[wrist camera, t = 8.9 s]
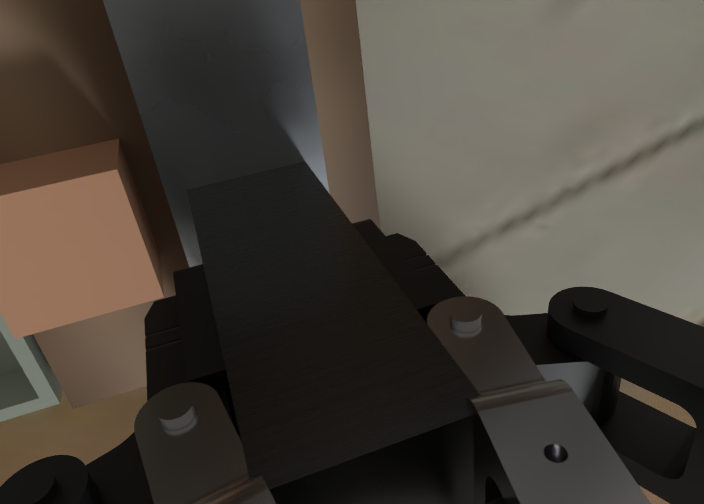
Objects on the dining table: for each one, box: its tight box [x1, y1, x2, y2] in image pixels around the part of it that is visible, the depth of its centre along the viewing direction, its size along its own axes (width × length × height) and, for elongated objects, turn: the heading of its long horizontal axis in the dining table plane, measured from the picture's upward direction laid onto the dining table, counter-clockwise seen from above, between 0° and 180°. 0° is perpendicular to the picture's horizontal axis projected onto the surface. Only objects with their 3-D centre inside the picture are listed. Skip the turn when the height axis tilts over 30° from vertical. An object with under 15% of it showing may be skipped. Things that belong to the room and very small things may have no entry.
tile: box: [0, 139, 164, 339], centre depth 16 cm, size 4×4×2 cm
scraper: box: [103, 0, 481, 504], centre depth 12 cm, size 4×12×12 cm, turn 7°
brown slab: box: [0, 0, 380, 409], centre depth 19 cm, size 12×14×3 cm
